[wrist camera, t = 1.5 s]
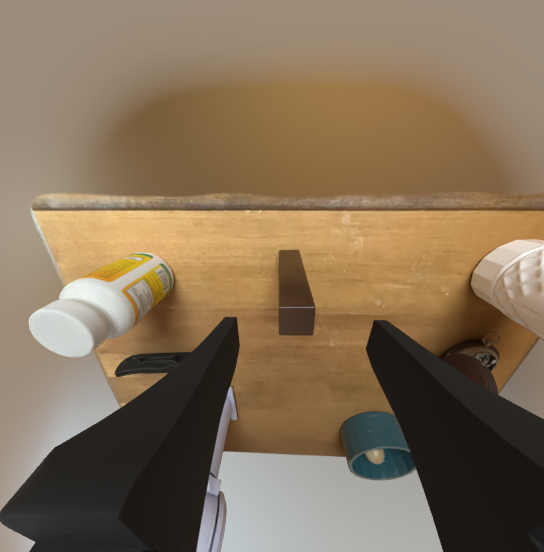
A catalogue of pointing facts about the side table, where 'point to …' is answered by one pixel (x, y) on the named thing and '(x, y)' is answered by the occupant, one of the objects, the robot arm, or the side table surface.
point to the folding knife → (150, 363)
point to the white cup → (514, 282)
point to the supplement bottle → (102, 304)
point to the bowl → (376, 446)
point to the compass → (475, 361)
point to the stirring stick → (294, 296)
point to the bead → (375, 456)
